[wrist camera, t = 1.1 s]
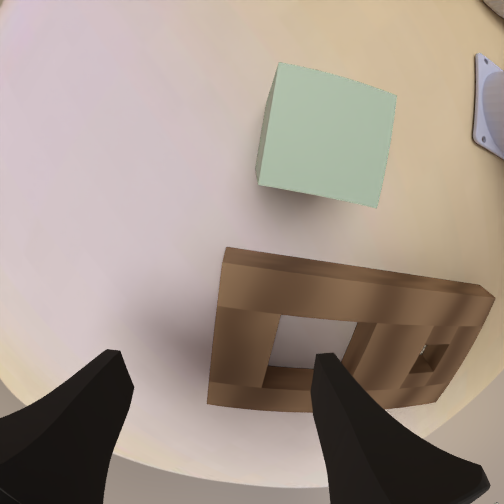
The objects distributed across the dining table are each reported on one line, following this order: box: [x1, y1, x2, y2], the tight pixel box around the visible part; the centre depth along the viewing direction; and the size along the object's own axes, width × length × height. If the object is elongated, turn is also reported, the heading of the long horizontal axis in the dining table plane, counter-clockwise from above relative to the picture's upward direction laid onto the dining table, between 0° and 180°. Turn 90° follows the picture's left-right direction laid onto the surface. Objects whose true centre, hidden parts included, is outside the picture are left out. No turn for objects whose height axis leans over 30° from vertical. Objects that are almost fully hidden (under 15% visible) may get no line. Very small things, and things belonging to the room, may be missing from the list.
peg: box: [255, 62, 397, 208], centre depth 12 cm, size 4×4×8 cm
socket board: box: [207, 247, 495, 413], centre depth 19 cm, size 22×12×2 cm, turn 81°
